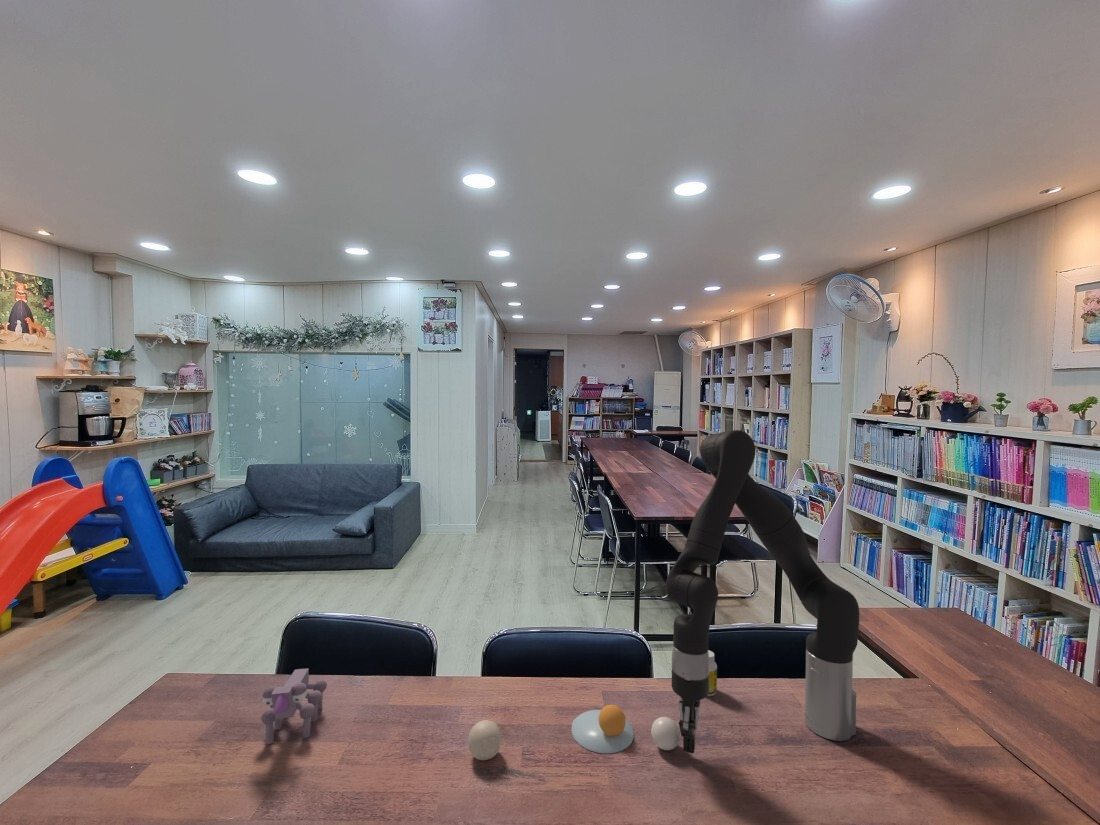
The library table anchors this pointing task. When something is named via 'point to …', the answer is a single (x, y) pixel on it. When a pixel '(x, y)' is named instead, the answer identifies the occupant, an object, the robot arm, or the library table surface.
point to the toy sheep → (293, 702)
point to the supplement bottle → (712, 674)
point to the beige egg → (484, 740)
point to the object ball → (612, 720)
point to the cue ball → (665, 733)
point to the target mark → (599, 734)
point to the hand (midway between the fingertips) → (689, 750)
